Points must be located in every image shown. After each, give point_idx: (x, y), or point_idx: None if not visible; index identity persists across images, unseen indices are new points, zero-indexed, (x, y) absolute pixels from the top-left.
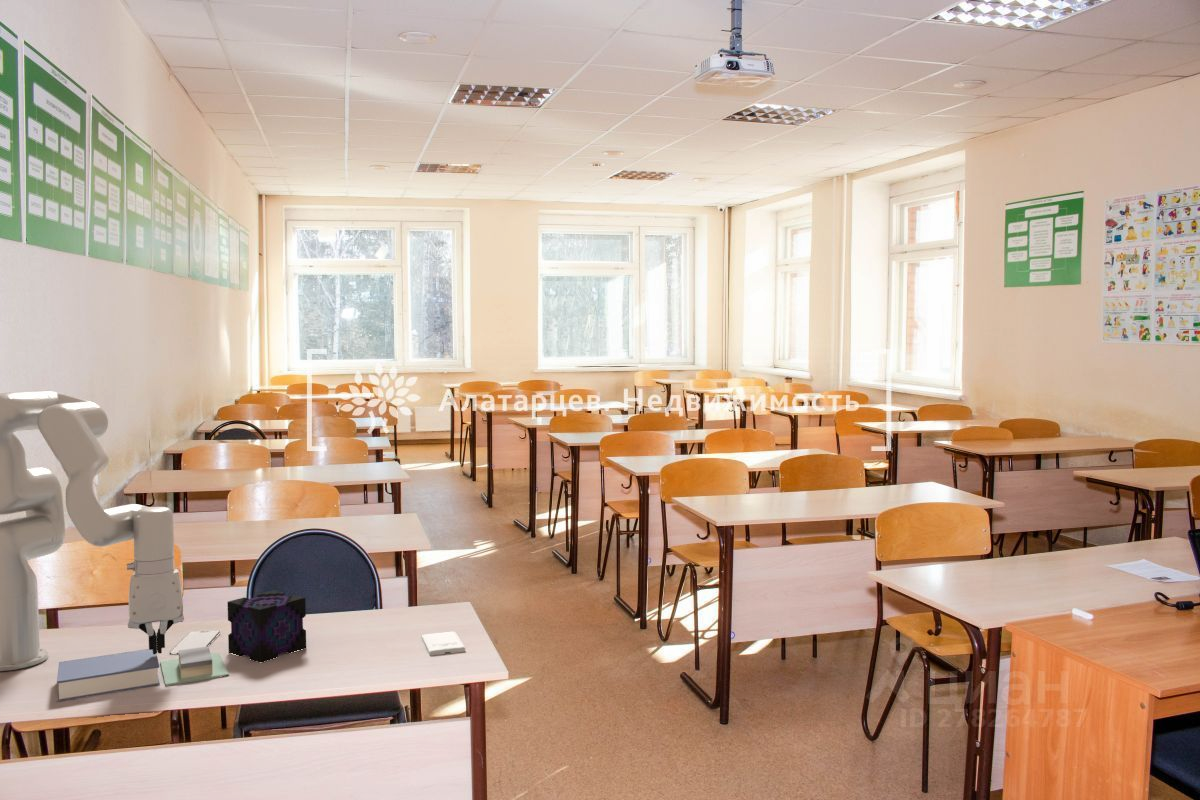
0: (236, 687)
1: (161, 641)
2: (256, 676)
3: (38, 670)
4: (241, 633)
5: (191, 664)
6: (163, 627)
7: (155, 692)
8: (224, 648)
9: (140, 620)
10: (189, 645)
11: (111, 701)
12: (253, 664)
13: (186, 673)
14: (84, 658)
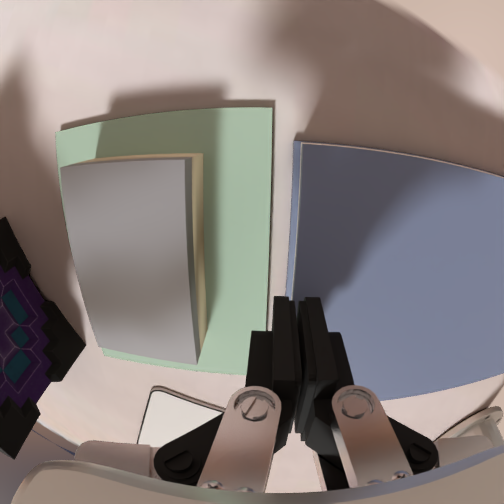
0: (62, 17)
1: (270, 356)
2: (11, 100)
3: (469, 404)
4: (12, 343)
5: (139, 160)
6: (247, 435)
7: (316, 58)
8: (105, 380)
9: (502, 474)
10: (186, 429)
11: (453, 73)
12: (16, 215)
13: (176, 154)
14: (472, 382)
